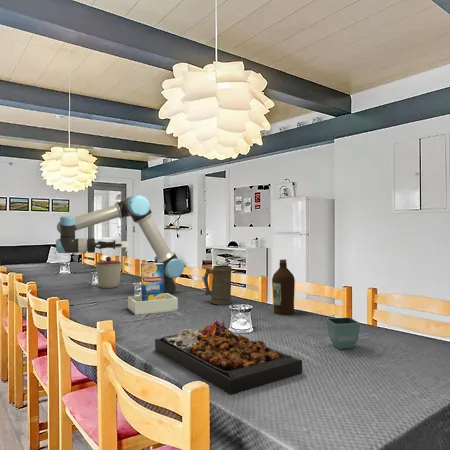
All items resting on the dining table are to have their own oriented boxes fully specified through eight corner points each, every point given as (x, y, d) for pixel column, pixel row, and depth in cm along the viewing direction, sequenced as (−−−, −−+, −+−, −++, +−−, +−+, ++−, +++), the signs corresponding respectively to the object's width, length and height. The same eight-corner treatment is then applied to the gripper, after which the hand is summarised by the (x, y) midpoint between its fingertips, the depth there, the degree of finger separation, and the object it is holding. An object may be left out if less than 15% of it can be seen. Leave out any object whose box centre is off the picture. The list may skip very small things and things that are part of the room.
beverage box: (164, 308, 203) (163, 263, 203) (142, 309, 200) (141, 264, 200) (163, 305, 210) (162, 262, 209) (141, 306, 207) (140, 263, 207)
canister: (118, 289, 272) (117, 257, 271) (91, 289, 272) (90, 258, 272) (125, 285, 290) (124, 255, 289) (100, 285, 290) (99, 255, 290)
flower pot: (326, 343, 143) (325, 317, 143) (350, 342, 143) (350, 317, 143) (334, 351, 134) (334, 324, 134) (361, 350, 135) (360, 323, 135)
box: (168, 304, 217) (167, 293, 217) (177, 310, 202) (177, 298, 201) (128, 308, 208) (127, 296, 208) (135, 315, 193) (135, 302, 193)
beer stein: (233, 301, 222) (232, 264, 222) (231, 305, 211) (230, 266, 211) (205, 301, 224) (204, 264, 224) (202, 305, 213) (201, 267, 213)
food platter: (155, 351, 139) (154, 321, 139) (216, 339, 152) (215, 311, 152) (230, 397, 101) (230, 356, 101) (302, 375, 115) (301, 339, 115)
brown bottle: (287, 309, 199) (286, 258, 199) (299, 313, 190) (298, 259, 190) (268, 311, 195) (267, 259, 195) (280, 316, 185) (279, 261, 185)
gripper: (88, 250, 232) (127, 249, 237) (85, 253, 208) (128, 252, 213) (88, 237, 232) (127, 236, 237) (85, 239, 208) (128, 238, 213)
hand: (127, 244), depth 225 cm, fingers open, 13 cm apart
